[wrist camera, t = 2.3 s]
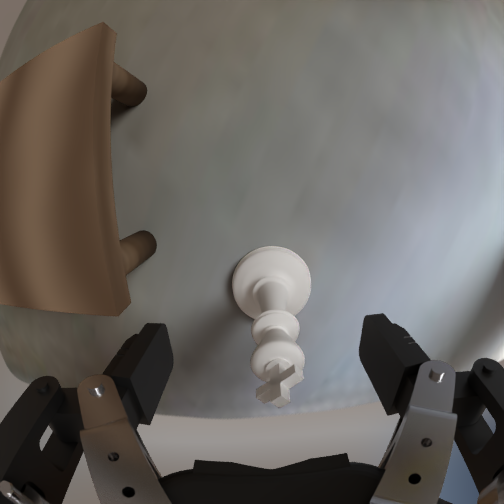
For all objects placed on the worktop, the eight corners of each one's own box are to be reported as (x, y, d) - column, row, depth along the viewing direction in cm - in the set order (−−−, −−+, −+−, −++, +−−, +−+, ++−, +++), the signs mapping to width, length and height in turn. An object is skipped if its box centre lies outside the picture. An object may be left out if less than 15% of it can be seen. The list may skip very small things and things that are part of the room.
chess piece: (326, 285, 17) (383, 393, 7) (269, 331, 18) (272, 456, 8) (273, 228, 16) (289, 303, 7) (216, 282, 17) (169, 394, 8)
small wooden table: (156, 68, 14) (103, 22, 7) (168, 265, 17) (118, 316, 10) (23, 119, 14) (-37, 114, 8) (36, 269, 18) (-20, 300, 11)
